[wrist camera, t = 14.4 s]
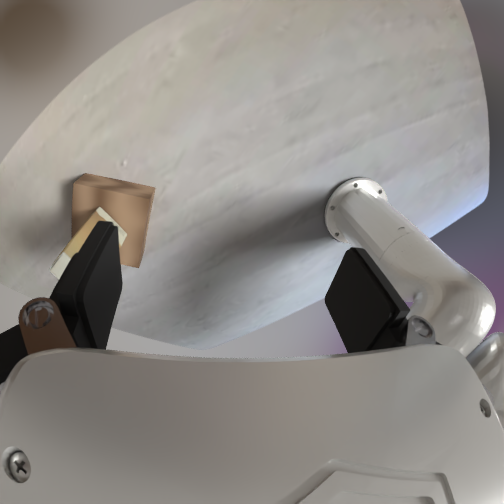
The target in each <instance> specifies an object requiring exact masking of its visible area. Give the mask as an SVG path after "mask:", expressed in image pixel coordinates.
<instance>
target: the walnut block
mask: <svg viewBox="0 0 504 504" xmlns="http://www.w3.org/2000/svg"><path fill="white" fill-rule="evenodd" d="M154 193H155V188H154V187H150V186H145V185H141V184H136V183H131V182H127V181H122V180H117V179H112V178H107V177H102V176H97V175H92V174H87V173H85V174H84V175H83V176H81V177H80V178H79V179H78V180H77V181H75V182H74V183H73V197H72V238H73V236H74V235H75V234H76V233H77V231H78V230H79V229H80V228H81V226H82V225H83V224H84V223H85V222H86V221H87V219H88V218H89V217H90V216H91V215H92V214H93V213H94V212H95V211H96V209H97V208H98V207H101V208H102V209H103V210H104V211H105V212H106V213H107V214H108V215H109V216H110V217H111V218H112V219H113V220H114V221H115V222H116V223H117V224H118V225H119V226H120V227H121V228H122V229H123V230H124V231H125V232H126V233H127V236H126V238H125V240H124V242H123V244H122V246H121V248H120V250H119V251H120V264H123V265H127V266H131V267H136V268H139V266H140V263H141V260H142V256H143V253H144V248H145V241H146V235H147V229H148V224H149V218H150V213H151V208H152V203H153V198H154Z"/></svg>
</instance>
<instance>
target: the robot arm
mask: <svg viewBox="0 0 504 504" xmlns="http://www.w3.org/2000/svg"><path fill="white" fill-rule="evenodd" d="M325 224H326V226H327V229H328V231H329V232H330V233H331V235H332V236H333V237H334V238H335V239H337V240H338V241H341V242H344V243H349V244H350V245H351V246H352V247H351V248H350V249H349V250H347V251H346V253H345V255H344V257H343V259H342V261H341V264H340V266H339V268H338V270H337V273H336V275H335V277H334V279H333V281H332V283H331V285H330V287H329V290H328V292H327V294H326V296H325V304H326V306H327V308H328V310H329V312H330V315H331V317H332V319H333V321H334V323H335V325H336V328H337V330H338V332H339V334H340V336H341V338H342V341H343V343H344V345H345V347H346V350H347V352H348V353H346V354H335V355H322V356H307V357H288V358H202V357H181V356H169V355H155V354H143V353H132V352H124V351H115V350H106V346H107V342H108V338H109V334H110V329H111V326H112V322H113V319H114V315H115V311H116V308H117V304H118V301H119V298H120V294H121V291H122V274H121V264H120V251H119V235H118V226H114V224H113V222H111V221H98V222H97V223H96V225H95V226H94V228H93V229H92V231H91V233H90V234H89V236H88V237H87V239H86V240H85V242H84V244H83V245H82V247H81V248H80V250H79V252H78V253H75V254H74V255H73V256H72V258H71V260H70V261H69V263H68V265H67V266H66V268H65V270H64V272H63V274H62V275H61V277H60V279H59V281H58V283H57V284H56V286H55V288H54V290H53V292H52V294H51V296H50V298H45V297H39V298H35V299H32V300H30V301H29V302H27V303H26V304H25V305H24V306H23V307H22V309H21V310H20V313H19V317H18V318H19V324H18V325H16V326H14V327H12V328H11V329H9V330H7V331H5V332H3V333H1V334H0V504H504V431H503V428H504V333H500V332H496V333H493V334H491V335H490V336H488V337H487V338H485V339H484V340H483V338H484V337H485V336H486V334H487V333H488V331H489V329H490V328H491V326H492V324H493V321H494V318H495V308H496V307H495V301H494V298H493V296H492V294H491V292H490V291H489V290H488V288H487V287H486V286H485V285H484V284H483V283H482V282H481V281H480V280H479V279H478V278H476V277H475V276H474V275H472V274H471V273H470V272H468V271H467V270H466V269H464V268H463V267H462V266H460V265H459V264H458V263H456V262H455V261H454V260H453V259H452V258H450V257H449V256H448V255H447V254H446V253H444V252H443V251H442V250H441V249H440V248H439V247H438V246H437V245H436V244H434V243H433V242H432V241H431V240H430V239H429V238H428V237H427V236H426V235H425V234H424V233H422V232H421V231H420V230H419V229H418V228H417V227H416V226H415V225H414V224H413V223H411V222H410V221H409V220H408V219H407V218H406V217H405V216H403V215H402V214H401V213H400V212H399V211H397V210H396V209H395V208H394V207H393V206H392V205H390V204H389V203H388V200H387V196H386V193H385V191H384V189H383V188H382V187H381V186H380V185H379V184H378V183H377V182H375V181H373V180H371V179H368V178H354V179H351V180H348V181H346V182H345V183H343V184H342V185H340V186H339V187H338V188H337V189H336V190H335V191H334V192H333V194H332V195H331V197H330V198H329V200H328V203H327V205H326V209H325ZM404 301H408V302H414V303H413V305H412V306H411V307H410V308H408V306H407V305H406V303H405V302H404ZM482 340H483V341H482ZM481 341H482V342H481ZM480 342H481V343H480ZM479 343H480V344H479Z"/></svg>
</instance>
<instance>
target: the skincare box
mask: <svg viewBox="0 0 504 504" xmlns="http://www.w3.org/2000/svg"><path fill="white" fill-rule="evenodd" d="M98 221H111V222H113V224H114V226H118V235H119V250H120V248H121V246H122V244H123V242H124V240H125V238H126V236H127V233H126V232H125V231H124V230H123V229H122V228H121V227H120V226H119V225H118V224H117V223H116V222H115V221H114V220H113V219H112V218H111V217H110V216H109V215H108V214H107V213H106V212H105V211H104V210H103V209H102V208H101V207H98V208H97V209H96V211H95V212H94V213H93V214H92V215H91V216H90V217H89V218H88V219H87V221H86V222H85V223H84V224H83V225H82V226H81V228H80V229H79V230H78V231H77V233H76V234H75V235H74V236H73V238H72V239H71V240H70V242H69V243H68V244H67V245H66V247H65V248H64V249H63V251H62V252H61V253H60V255H59V256H58V257H57V259H56V260H55V261H54V263H53V264H52V266H51V267H50V269H49V272H50V273H51V274H53V275H54V276H55V277H56V278H57V279H58V280H59V279H60V277H61V275H62V274H63V272H64V270H65V268H66V266H67V265H68V263H69V261H70V260H71V258H72V256H73V255H74V254H75V253H78V252H79V250H80V248H81V247H82V245H83V244H84V242H85V240H86V239H87V237H88V236H89V234H90V233H91V231H92V229H93V228H94V226H95V225H96V223H97V222H98Z"/></svg>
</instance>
